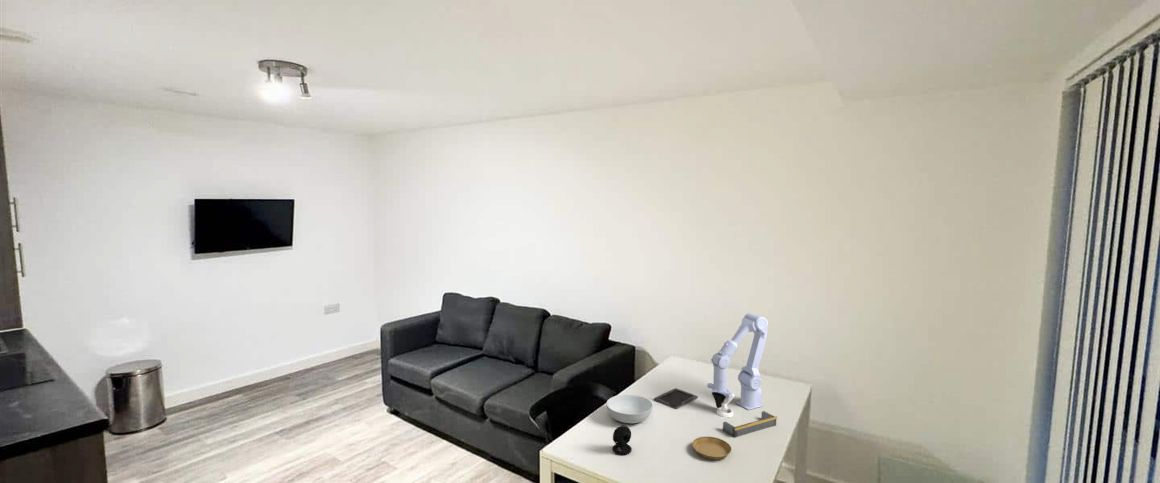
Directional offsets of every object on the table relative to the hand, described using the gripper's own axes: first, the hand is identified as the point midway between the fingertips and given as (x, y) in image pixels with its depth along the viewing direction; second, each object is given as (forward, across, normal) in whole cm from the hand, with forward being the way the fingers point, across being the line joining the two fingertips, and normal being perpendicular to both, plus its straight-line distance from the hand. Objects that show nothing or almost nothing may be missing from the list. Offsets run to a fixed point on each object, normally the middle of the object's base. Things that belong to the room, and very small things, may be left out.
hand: (719, 407), depth 216 cm
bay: (+1, +19, 0) cm, 19 cm away
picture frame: (+2, -18, -11) cm, 21 cm away
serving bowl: (+1, -11, -42) cm, 44 cm away
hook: (+1, +4, 0) cm, 4 cm away
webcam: (+1, +11, -59) cm, 60 cm away
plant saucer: (+2, +26, -28) cm, 39 cm away
